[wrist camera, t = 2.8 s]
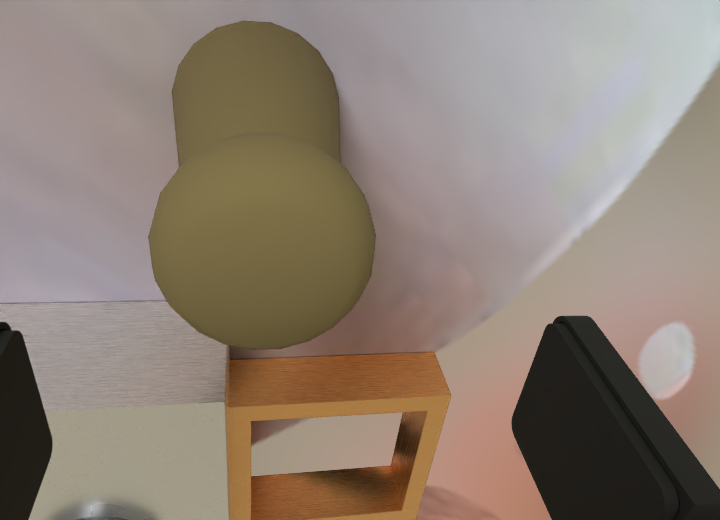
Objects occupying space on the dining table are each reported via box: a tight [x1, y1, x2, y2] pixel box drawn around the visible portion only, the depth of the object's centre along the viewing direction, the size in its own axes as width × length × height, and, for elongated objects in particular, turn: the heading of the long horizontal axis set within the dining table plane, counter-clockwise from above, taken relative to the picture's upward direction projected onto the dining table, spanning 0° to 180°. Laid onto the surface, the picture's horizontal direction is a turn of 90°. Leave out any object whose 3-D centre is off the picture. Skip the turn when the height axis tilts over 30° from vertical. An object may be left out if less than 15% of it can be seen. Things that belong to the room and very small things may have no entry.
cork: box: [148, 21, 376, 350], centre depth 16 cm, size 6×6×11 cm
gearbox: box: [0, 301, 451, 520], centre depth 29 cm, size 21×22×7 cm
